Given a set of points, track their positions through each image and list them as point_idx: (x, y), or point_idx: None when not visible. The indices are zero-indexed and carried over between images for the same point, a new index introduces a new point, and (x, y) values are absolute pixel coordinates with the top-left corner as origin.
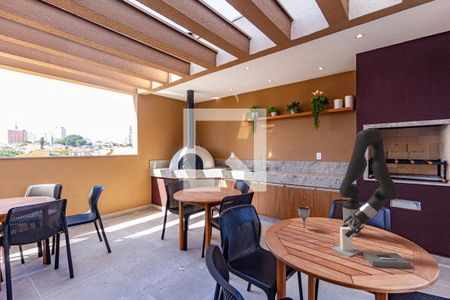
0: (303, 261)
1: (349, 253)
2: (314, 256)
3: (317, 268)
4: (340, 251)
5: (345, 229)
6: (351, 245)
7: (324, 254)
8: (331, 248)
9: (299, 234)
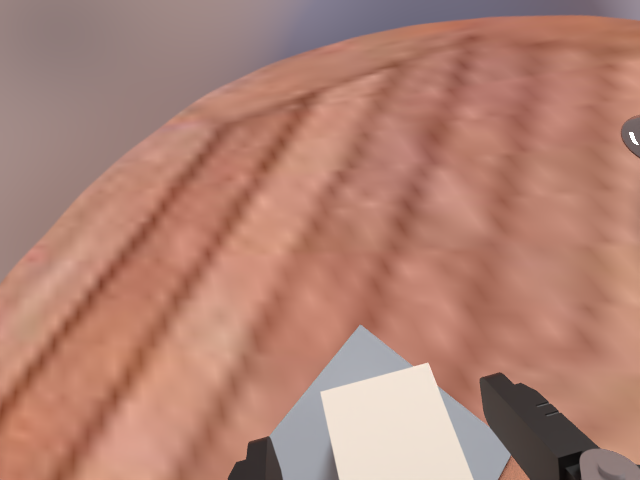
0: (146, 188)
1: (295, 474)
2: (211, 230)
3: (76, 250)
4: (314, 394)
5: (334, 457)
6: None
7: (251, 281)
8: (358, 327)
9: (520, 130)
